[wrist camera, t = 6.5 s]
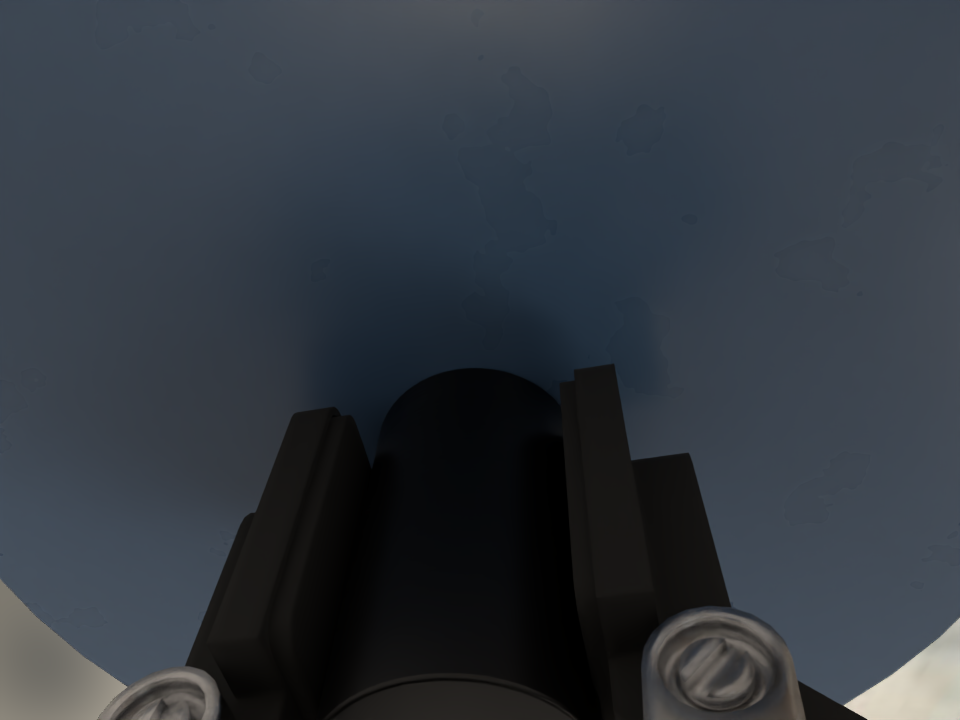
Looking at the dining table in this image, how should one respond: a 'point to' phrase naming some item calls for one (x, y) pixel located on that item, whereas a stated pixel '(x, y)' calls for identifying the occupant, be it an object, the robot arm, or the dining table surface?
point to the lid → (481, 316)
